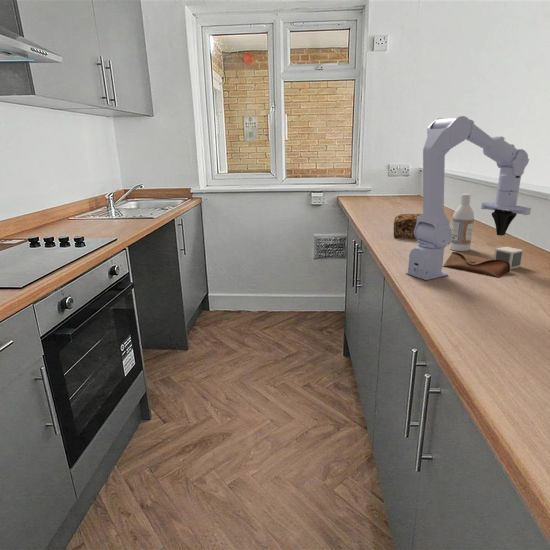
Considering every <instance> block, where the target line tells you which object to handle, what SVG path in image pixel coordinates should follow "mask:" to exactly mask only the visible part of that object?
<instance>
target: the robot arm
mask: <svg viewBox="0 0 550 550" xmlns="http://www.w3.org/2000/svg"><path fill="white" fill-rule="evenodd" d="M426 132H427V133H426V134H427V137H426V140H425V142H424V145H423V149H422V151H423V152H422V213H420V214H421V215H420V216H419V217H418V218H417V224H416V227H415V229H414V235H415V238H416V239H415V240H416V242H417V244H418V245H417V246H416V247H415V248H413V249H411V250H410V252H409V256H408V265H407V266H408V267H407V268H408V269H407V271H405V274H406V273H407V275H409V276H413V277H415V278H418V279H422V280H424V281H428V280H433V279H437V278H441V277H445V276H448V275H449V273H447V272H444V271H443V267H442V266H443V265H444V262H443V261H444V253H445V248H446V247H447V245H448V244H450V240H451V238H452V230H451V228H452V227H451V225H450V222H451V221H450V219H449V218H448V216H447V214H445V211H444V209H445V166H446V165H445V164H446V163H445V160H446V159H445V156H446V155H447V154H448V152H449V151H450V150H452V149H453V148H454V147H456V146H458V145H460V144H461V143H462V142H464V141H467V142H470V143H472V144H474V145H476V146H477V147H480V148H481V149H482V152H483V155H484V156H486V157H488V158H489V159H490V160H493V161H494V162H495V163H496V166H497V168H498V169H499V173H498V175H499V176H498V181H497V188H496V193H495V194H496V196H495V201H494V203H493V202H482V203H481V207H480V209H481V210H487V211H488V210H491V211H493V212H491V216H492V219H493V221H494V224H495V225H494V226H495V229H496V235H497V236H500V237H502V236H505V235H506V232H507V230H508V228H509V226H510V224H511V223H512V222H513V220H514V219H515V217H517V215H518V214H519V215H523V216H529V215H530V214H531V209H532V207H526V206H521V205H517V203H518V198H519V191H520V185H521V180H522V176H523V174H524V173H525V169H526V167H527V166H528V164H529V162H530V161H529V160H530V158H529V154H528V152H527V151H526V150H524V149H522V148H521V149H517V148H516V146H515V144H513V143H512V144H510V143H509V142H508V141H506V140H505V139H506V138H505V137H503V136H492V137H491V136H490V135H489V134H488V133H486V132H485V131H484V130H483V129H482V128H480V127H478V125H476V124H475V121H474V120H472V119H469V117H467V116H464V115H460V116H456V117H446V118H445V117H438V118H436V119H435V120H434V121H432V122H431V123H430V125H429V126H428V127H427V130H426Z"/></svg>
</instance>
